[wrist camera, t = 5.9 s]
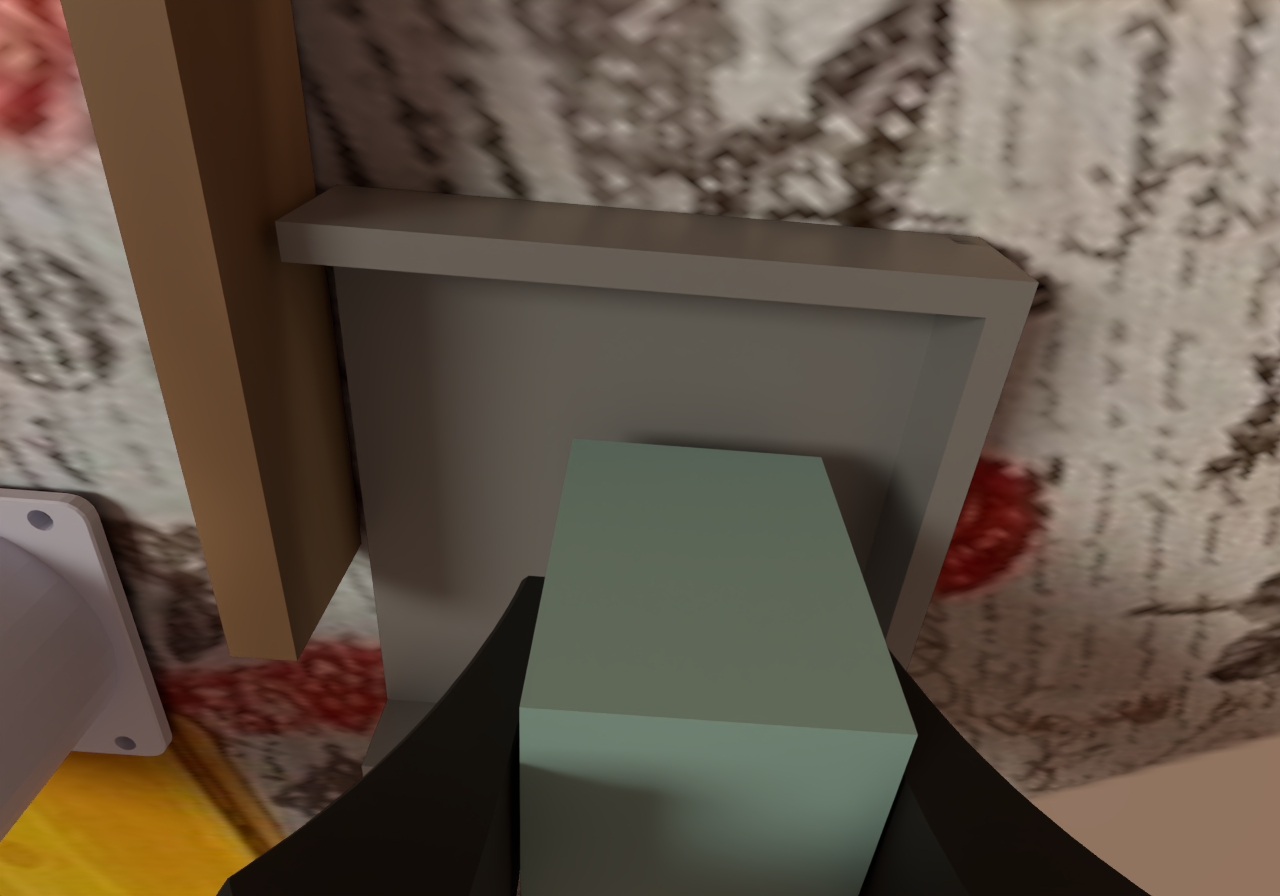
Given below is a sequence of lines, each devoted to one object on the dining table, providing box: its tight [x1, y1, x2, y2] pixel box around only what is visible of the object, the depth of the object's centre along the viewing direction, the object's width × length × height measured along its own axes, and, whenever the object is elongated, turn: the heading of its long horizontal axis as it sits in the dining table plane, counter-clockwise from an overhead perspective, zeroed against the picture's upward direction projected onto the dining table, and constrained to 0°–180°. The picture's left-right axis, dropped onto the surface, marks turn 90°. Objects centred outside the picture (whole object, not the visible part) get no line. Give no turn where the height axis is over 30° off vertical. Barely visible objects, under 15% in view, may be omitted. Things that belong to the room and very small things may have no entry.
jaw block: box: [519, 439, 918, 896], centre depth 12 cm, size 4×5×6 cm
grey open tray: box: [275, 185, 1039, 776], centre depth 16 cm, size 11×13×2 cm
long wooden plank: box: [60, 0, 362, 661], centre depth 11 cm, size 1×16×4 cm, turn 176°
